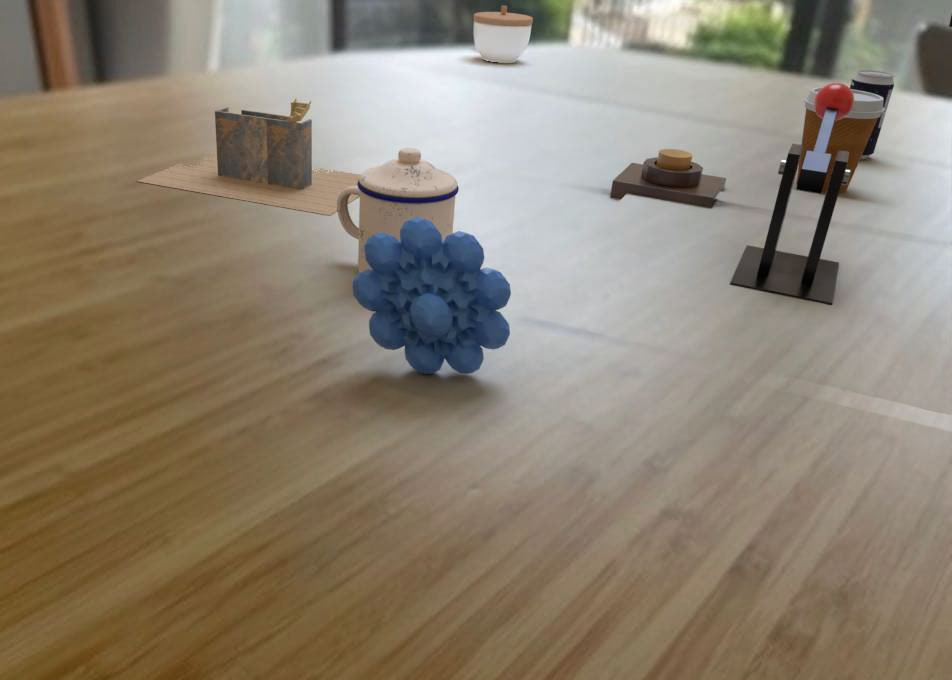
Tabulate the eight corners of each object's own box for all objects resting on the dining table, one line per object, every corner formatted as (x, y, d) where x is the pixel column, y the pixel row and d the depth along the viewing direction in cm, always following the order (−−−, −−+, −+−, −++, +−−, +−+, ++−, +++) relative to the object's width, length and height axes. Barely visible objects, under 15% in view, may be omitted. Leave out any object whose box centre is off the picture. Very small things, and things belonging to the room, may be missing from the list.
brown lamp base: (722, 195, 114) (729, 163, 112) (709, 216, 106) (717, 182, 104) (628, 179, 118) (634, 148, 117) (609, 198, 110) (615, 165, 109)
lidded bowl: (499, 54, 204) (504, 1, 199) (540, 63, 196) (546, 8, 191) (458, 57, 197) (462, 3, 192) (499, 67, 189) (504, 10, 183)
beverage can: (843, 149, 140) (866, 68, 134) (878, 157, 136) (904, 74, 131) (824, 153, 137) (847, 70, 131) (860, 162, 133) (885, 77, 127)
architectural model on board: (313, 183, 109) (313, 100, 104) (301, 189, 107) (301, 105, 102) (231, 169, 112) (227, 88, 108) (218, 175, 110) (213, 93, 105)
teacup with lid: (468, 270, 87) (479, 148, 81) (421, 300, 80) (429, 170, 74) (363, 243, 92) (366, 127, 86) (310, 269, 85) (310, 145, 79)
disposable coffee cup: (784, 191, 117) (808, 96, 111) (782, 173, 125) (805, 83, 119) (862, 202, 115) (892, 105, 109) (856, 183, 123) (883, 91, 117)
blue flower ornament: (342, 394, 65) (345, 233, 59) (354, 352, 70) (358, 202, 65) (505, 407, 64) (524, 247, 58) (504, 364, 70) (521, 214, 64)
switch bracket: (744, 255, 95) (774, 132, 89) (835, 273, 92) (873, 146, 85) (727, 294, 85) (759, 158, 79) (828, 315, 82) (871, 175, 76)
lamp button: (692, 166, 112) (695, 152, 111) (686, 173, 108) (689, 159, 107) (659, 161, 113) (662, 147, 112) (653, 168, 110) (655, 153, 109)
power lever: (813, 104, 92) (821, 73, 89) (851, 109, 90) (861, 77, 88) (786, 193, 84) (794, 162, 82) (827, 200, 83) (836, 168, 80)
